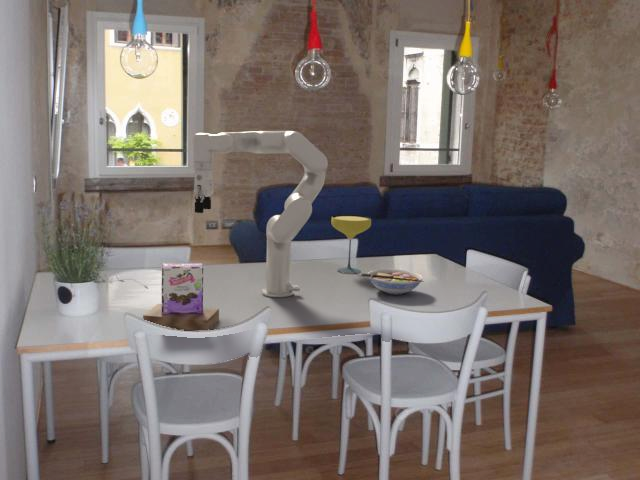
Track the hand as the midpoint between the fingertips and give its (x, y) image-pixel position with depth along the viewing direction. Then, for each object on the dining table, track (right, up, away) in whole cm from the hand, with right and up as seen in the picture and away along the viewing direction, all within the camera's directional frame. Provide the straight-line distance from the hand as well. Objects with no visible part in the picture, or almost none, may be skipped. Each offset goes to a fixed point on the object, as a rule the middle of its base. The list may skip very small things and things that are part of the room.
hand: (202, 210), depth 271 cm
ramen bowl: (+75, -33, +21) cm, 85 cm away
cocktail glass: (+58, -26, +55) cm, 84 cm away
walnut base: (-2, -40, -29) cm, 49 cm away
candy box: (-2, -36, -30) cm, 46 cm away
